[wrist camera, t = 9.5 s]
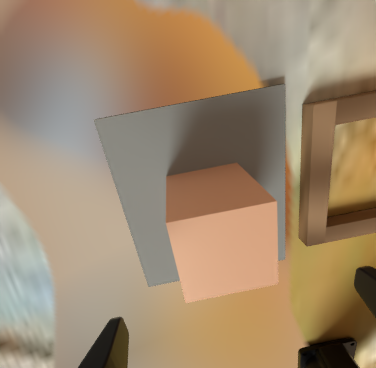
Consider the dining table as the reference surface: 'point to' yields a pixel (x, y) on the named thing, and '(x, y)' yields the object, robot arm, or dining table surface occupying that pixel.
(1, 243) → the dining table surface
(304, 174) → the holder
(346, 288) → the dining table surface
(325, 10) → the dining table surface
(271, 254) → the block
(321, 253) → the dining table surface
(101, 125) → the mat
